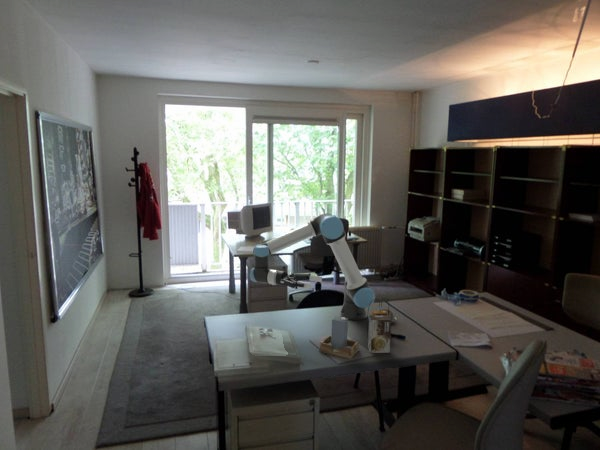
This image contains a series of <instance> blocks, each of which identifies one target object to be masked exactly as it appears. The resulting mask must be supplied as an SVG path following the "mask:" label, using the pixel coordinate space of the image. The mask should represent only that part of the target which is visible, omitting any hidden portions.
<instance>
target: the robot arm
mask: <svg viewBox="0 0 600 450" xmlns="http://www.w3.org/2000/svg"><path fill="white" fill-rule="evenodd" d="M320 235H322V238H323V240H324V242H325V244H326V245H327V246H328V245H329V246H330V248H331V251H332V253H333V254H334V256H335V257H334V258H335V260H336V261H337V263H338V266H339V268H340V270H341V272H342V274H343V277H344V291H343V292H344V297H343V304H342V306H341V309H340V317H345V318H348V320H350V321H351V320H352V321H360V320H361V321H362V320H364V319H367V314H368V311H367V308H370V306H372V305H373V303H374V302H375V300H376V294H375V292H374V290H373V289H372V288H371V286H370V285H369V282H368V280H367V278H366V277H363V276H362V273H361V271H360V270H359V267H358V264H357V262H356V260H355V258H354V256H353V254H352V251H351V249H350V247H349V245H348V243H347V241H346V237H347V236H346V235H347V233H346V231H345V230H344V224H343V221H342V219H341V218H339V217H338V216H336V215H333V214H331V213H322V214H320V215H317V216H315V217H313V218H312V219H310V220H308V221H307V223H306V224H305V223H304V224H303V225H300V226H298V227H297V228H294V229H292V230H289V231H288V232H285V233H283V234H281V235H279V236H277V237H274V238H272V239H270V240H267V241H265V242H263V243H258V244H256V245H255V246H254V247H253V250H252V255H253V258H254V261H253V262H254V267H252V268H251V269H250V271H249V278H250V281H252V282H253V283H258V284H267V285H272V286H281V287H284V286H285V287H289V288H291V289H295V290H297V289H298V288H301V289H309V290H310V289H312V282H315V283H316V282H319V283H322V282H323V276H319V275H313V274H311V273H291V274H288V272H287V271H285V270H279V269H270V256H271V255H274V254H276V253H278V252H280V251H282V250H284V249H287V248H289V247H292V246H294V245H296V244H298V243H300V242H302V241H304V240H307V239H309V238H311V237H318V236H320ZM306 281H310V282H306ZM373 299H375V300H373ZM371 301H372V302H371ZM370 302H371V303H370ZM369 305H370V306H369Z"/></svg>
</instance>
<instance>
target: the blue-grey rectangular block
mask: <svg viewBox="0 0 600 450" xmlns="http://www.w3.org/2000/svg"><path fill="white" fill-rule="evenodd" d="M348 328H349V319H348V318H345V317H342V316H337V315H336V316H334V317H333V318H332V319H331V335H330V336H331V343H329V344H331V345H333V349H335V350H338V347H339V346H340V347H345V348H350V347H348V346H347V339H348V331H349V330H348Z"/></svg>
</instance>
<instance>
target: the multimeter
mask: <svg viewBox="0 0 600 450" xmlns="http://www.w3.org/2000/svg"><path fill="white" fill-rule="evenodd" d="M383 299H384V300H386V301H387V303H388V305H390V303H389V300H388V299H387V298H385V297H383V298H381V302H380V300H379V299H377V298H375V299H373V300H374V301H375V300H377V301H378V303H379V305H378V310H377V311H376V310H374V311H372V314H371V315H388V316H390V315H389V313H390V311H389V310H390V306H388V311H386V310H383V309H382V308H383V305H382V304H383ZM371 302H372V301H371ZM371 302H370V303H371ZM367 308H368V309H367V311H369V310H370V305H369V307H367ZM366 321H367V322H366V327H367V328H366V332H367V338H368V337H369V313H367V317H366ZM391 331H392V329H391V330H390V334H392V332H391ZM393 338H394V336H393V337H392V336H391V339H393Z"/></svg>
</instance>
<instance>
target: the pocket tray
mask: <svg viewBox="0 0 600 450" xmlns="http://www.w3.org/2000/svg"><path fill="white" fill-rule="evenodd" d="M319 343H320V344H319V350H318V352H319V353H324V354H329V355H333V356H337V357H341V358H346V359H353V357H354V356H355V355H356V354H357V353H358V352H359V342H358V341H357V340H353V339H348V338H347V346H348V347H350V348H345V347H340V346H339V347H338V350H335V349H333V345H331V344H329V343H331V335H327V336H326V337H324V338H323V339H322V340H321V341H320V342H319Z"/></svg>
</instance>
